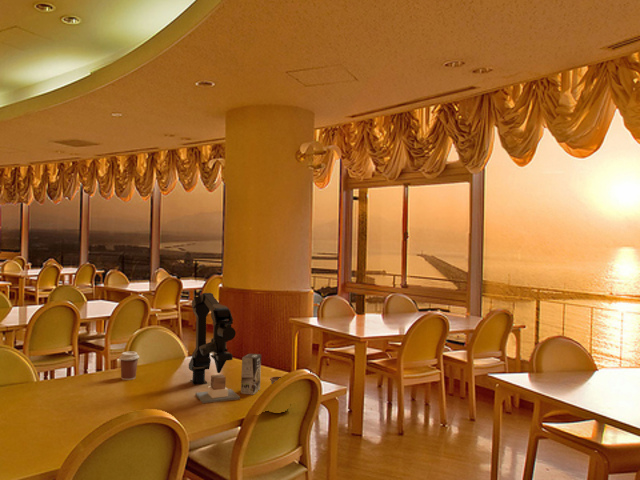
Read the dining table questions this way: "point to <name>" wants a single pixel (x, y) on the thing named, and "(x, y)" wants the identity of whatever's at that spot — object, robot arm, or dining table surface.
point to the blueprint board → (206, 397)
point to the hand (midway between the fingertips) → (218, 372)
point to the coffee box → (251, 373)
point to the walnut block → (218, 381)
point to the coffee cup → (128, 365)
